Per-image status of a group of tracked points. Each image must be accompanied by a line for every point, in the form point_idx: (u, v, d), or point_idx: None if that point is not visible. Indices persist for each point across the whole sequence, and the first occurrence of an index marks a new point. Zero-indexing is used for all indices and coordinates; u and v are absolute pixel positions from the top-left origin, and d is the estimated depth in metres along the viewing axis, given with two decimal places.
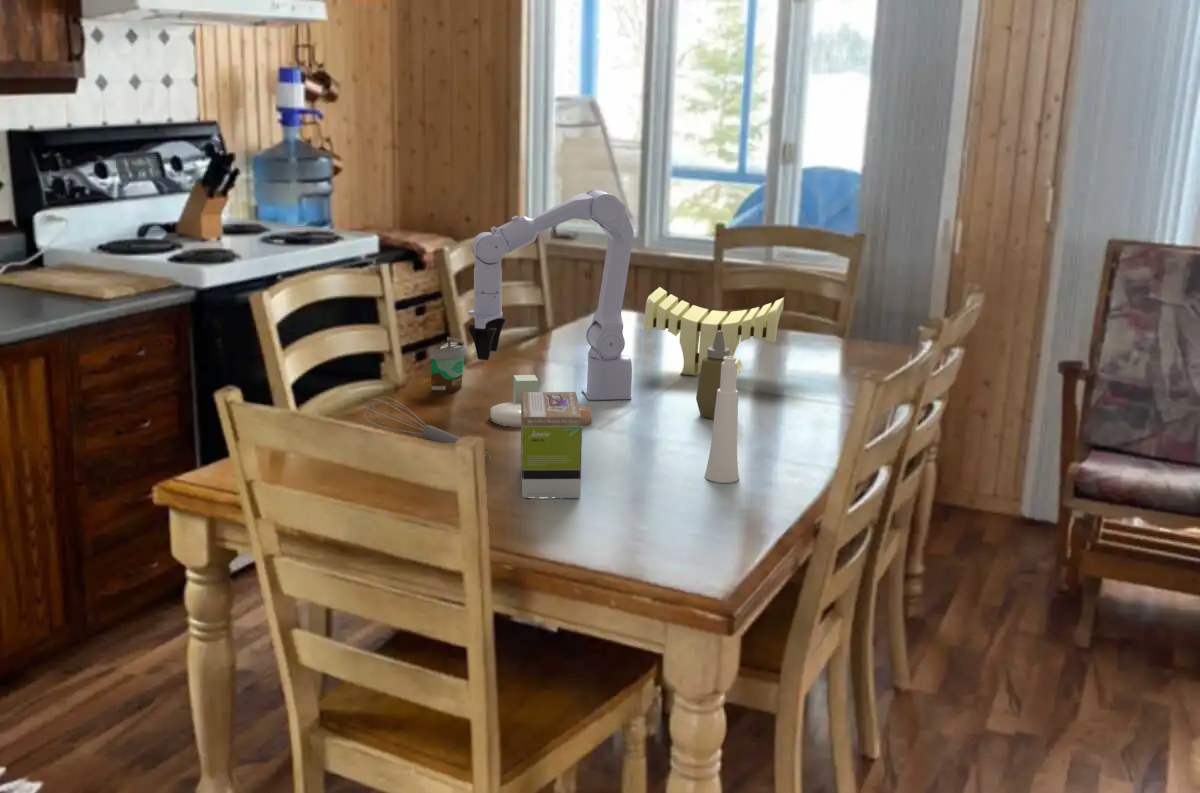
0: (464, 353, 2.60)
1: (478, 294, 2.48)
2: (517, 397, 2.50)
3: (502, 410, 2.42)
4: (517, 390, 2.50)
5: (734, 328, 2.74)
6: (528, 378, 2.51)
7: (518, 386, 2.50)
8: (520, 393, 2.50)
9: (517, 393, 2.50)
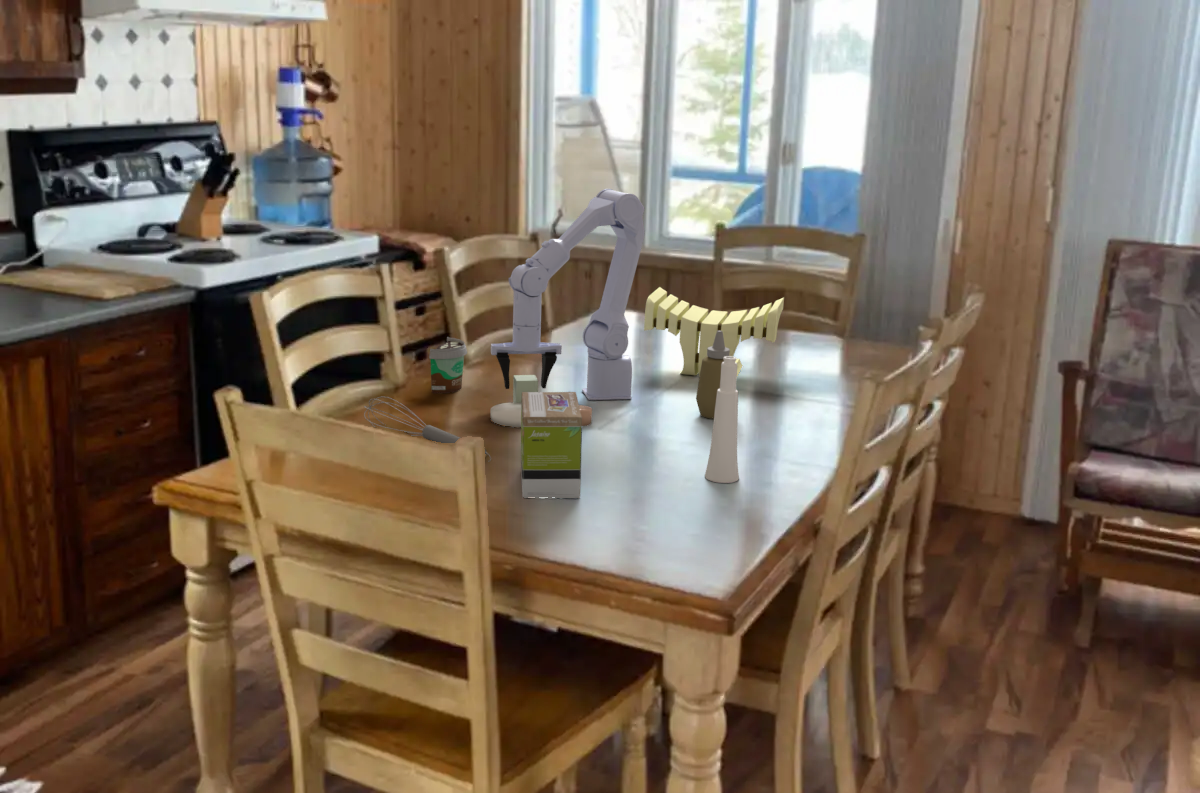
0: (464, 353, 2.60)
1: None
2: (517, 397, 2.50)
3: (502, 410, 2.42)
4: (517, 390, 2.50)
5: (734, 328, 2.74)
6: (528, 378, 2.51)
7: (518, 386, 2.50)
8: (520, 393, 2.50)
9: (517, 393, 2.50)
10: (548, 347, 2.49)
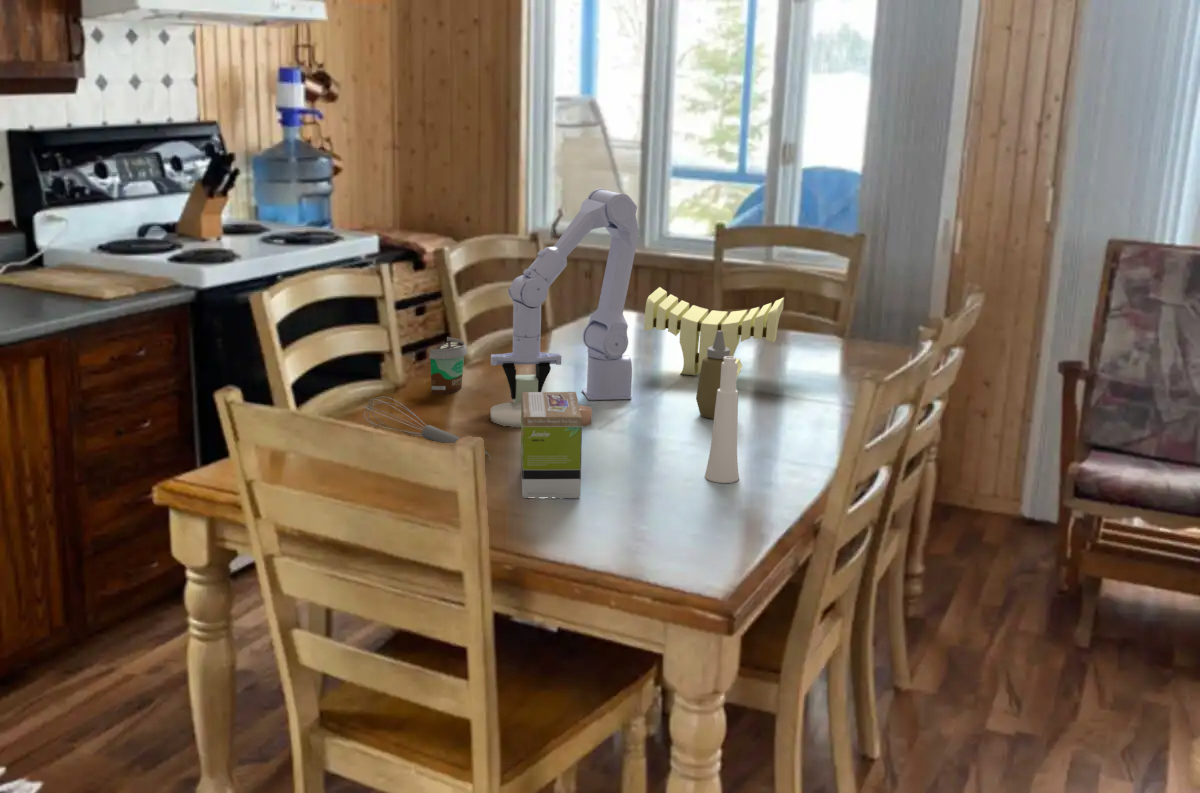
0: (464, 353, 2.60)
1: None
2: (517, 397, 2.50)
3: (502, 410, 2.42)
4: (517, 390, 2.50)
5: (734, 328, 2.74)
6: (528, 378, 2.51)
7: (518, 386, 2.50)
8: (520, 393, 2.50)
9: (517, 393, 2.50)
10: (548, 357, 2.50)
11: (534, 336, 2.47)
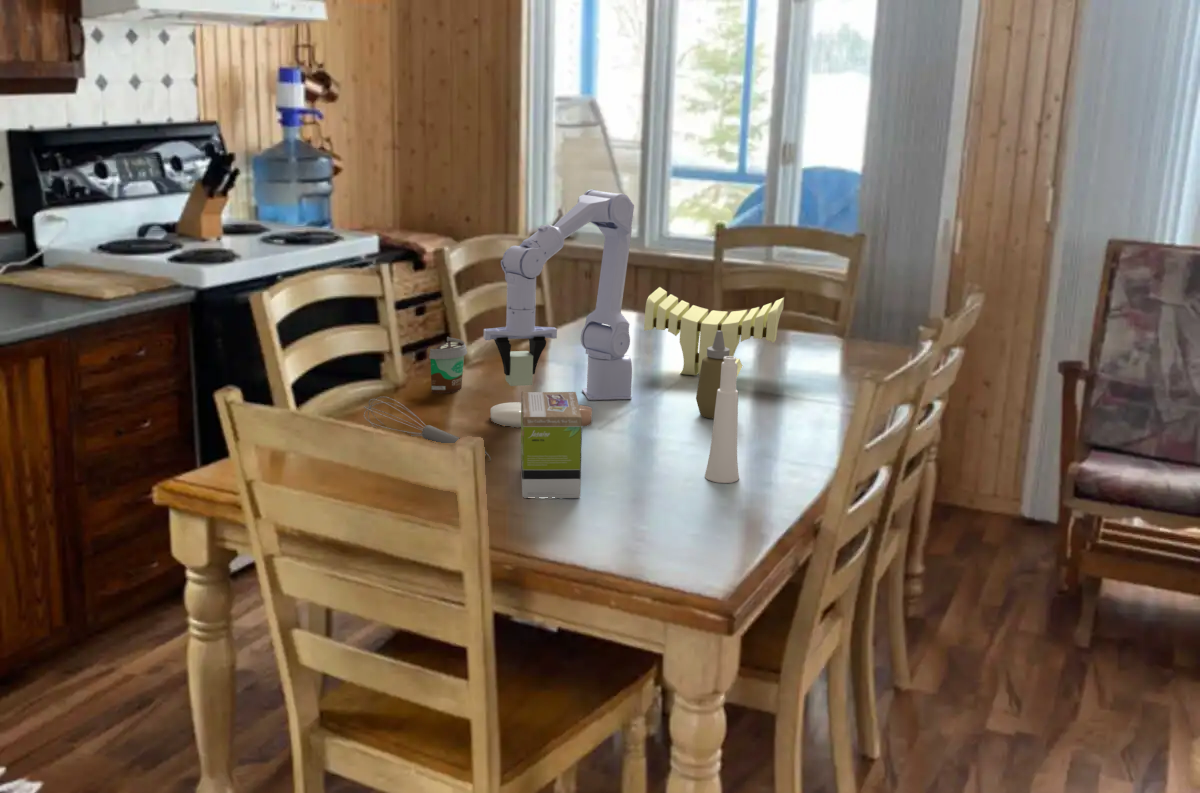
0: (464, 353, 2.60)
1: None
2: (511, 374, 2.40)
3: (502, 410, 2.42)
4: (511, 366, 2.40)
5: (734, 328, 2.74)
6: (522, 354, 2.42)
7: (512, 362, 2.40)
8: (514, 369, 2.40)
9: (511, 369, 2.40)
10: (543, 331, 2.40)
11: (530, 309, 2.37)
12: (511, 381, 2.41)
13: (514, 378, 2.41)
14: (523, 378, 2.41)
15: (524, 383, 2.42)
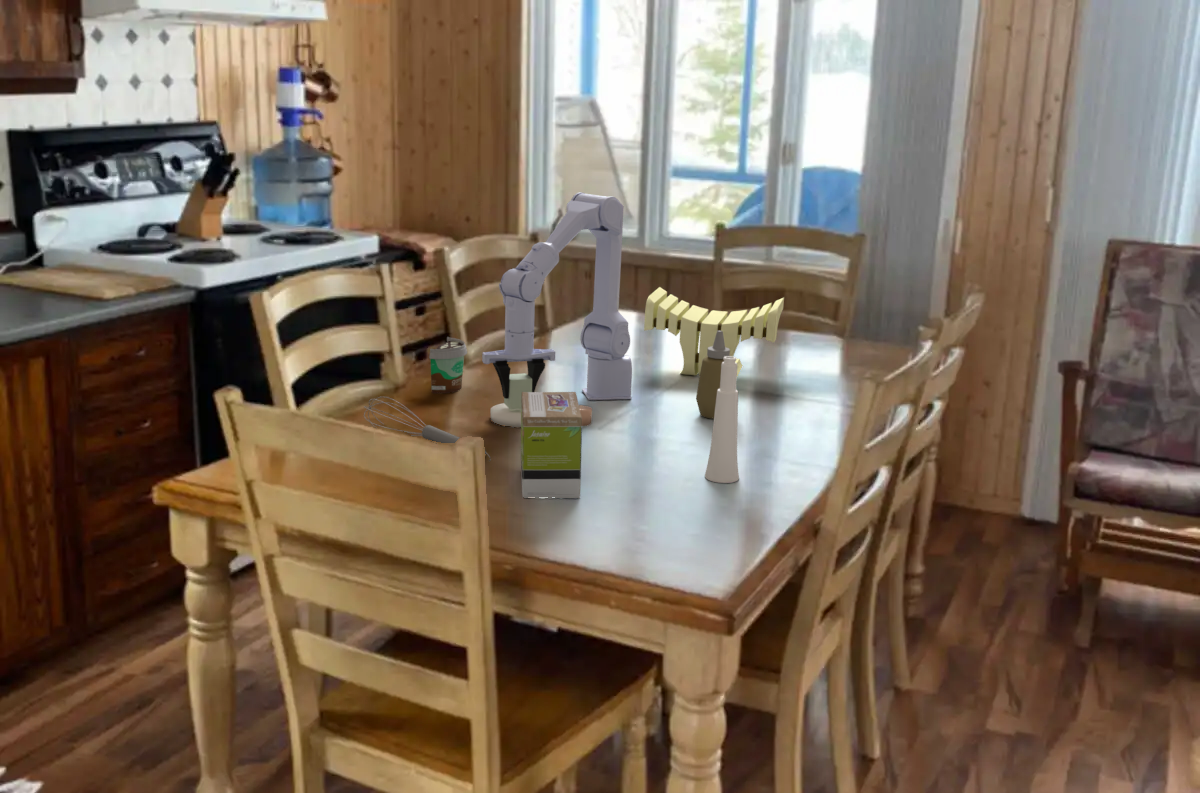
0: (464, 353, 2.60)
1: None
2: (511, 397, 2.40)
3: (502, 410, 2.42)
4: (511, 390, 2.39)
5: (734, 328, 2.74)
6: (521, 377, 2.41)
7: (512, 385, 2.39)
8: (514, 393, 2.40)
9: (511, 393, 2.39)
10: (542, 354, 2.40)
11: (529, 332, 2.36)
12: (510, 404, 2.40)
13: (513, 401, 2.40)
14: None
15: None
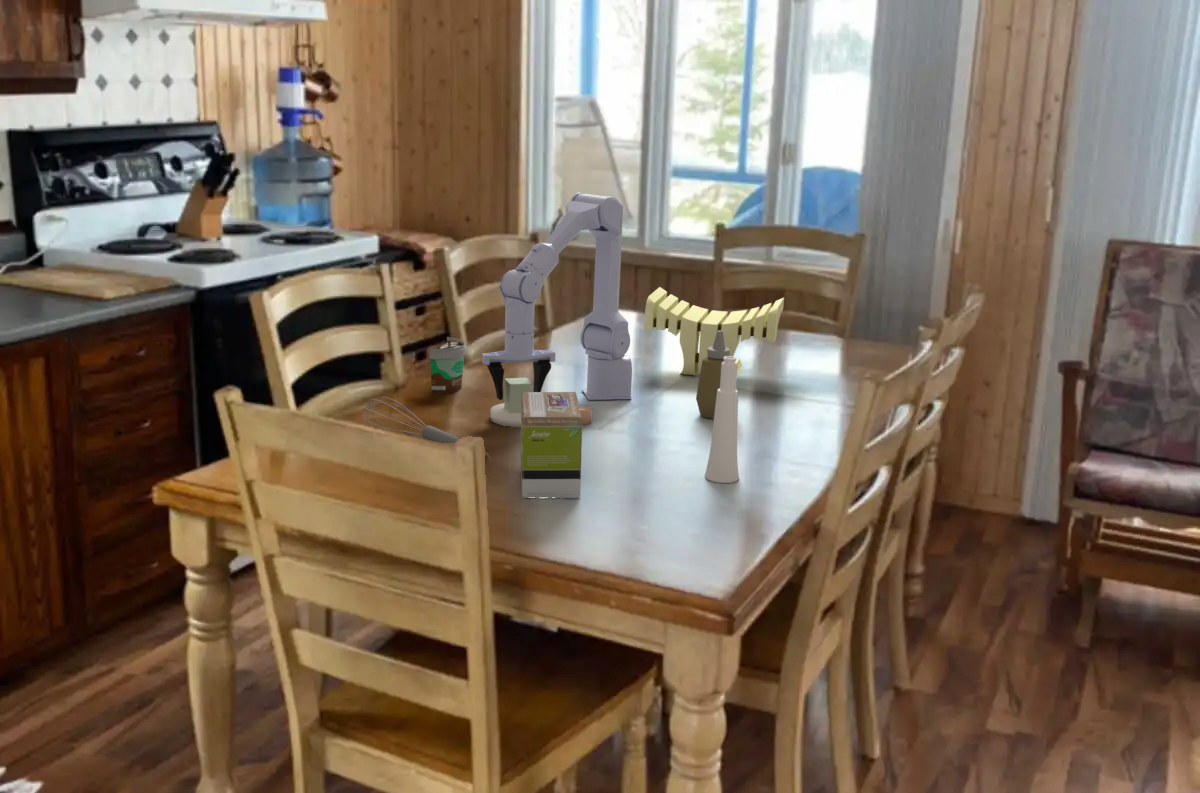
0: (464, 353, 2.60)
1: None
2: (511, 401, 2.40)
3: (502, 410, 2.42)
4: (511, 394, 2.39)
5: (734, 328, 2.74)
6: (521, 381, 2.41)
7: (512, 390, 2.39)
8: (514, 397, 2.40)
9: (511, 397, 2.40)
10: (542, 355, 2.40)
11: (529, 333, 2.37)
12: (510, 408, 2.40)
13: (513, 405, 2.40)
14: None
15: None
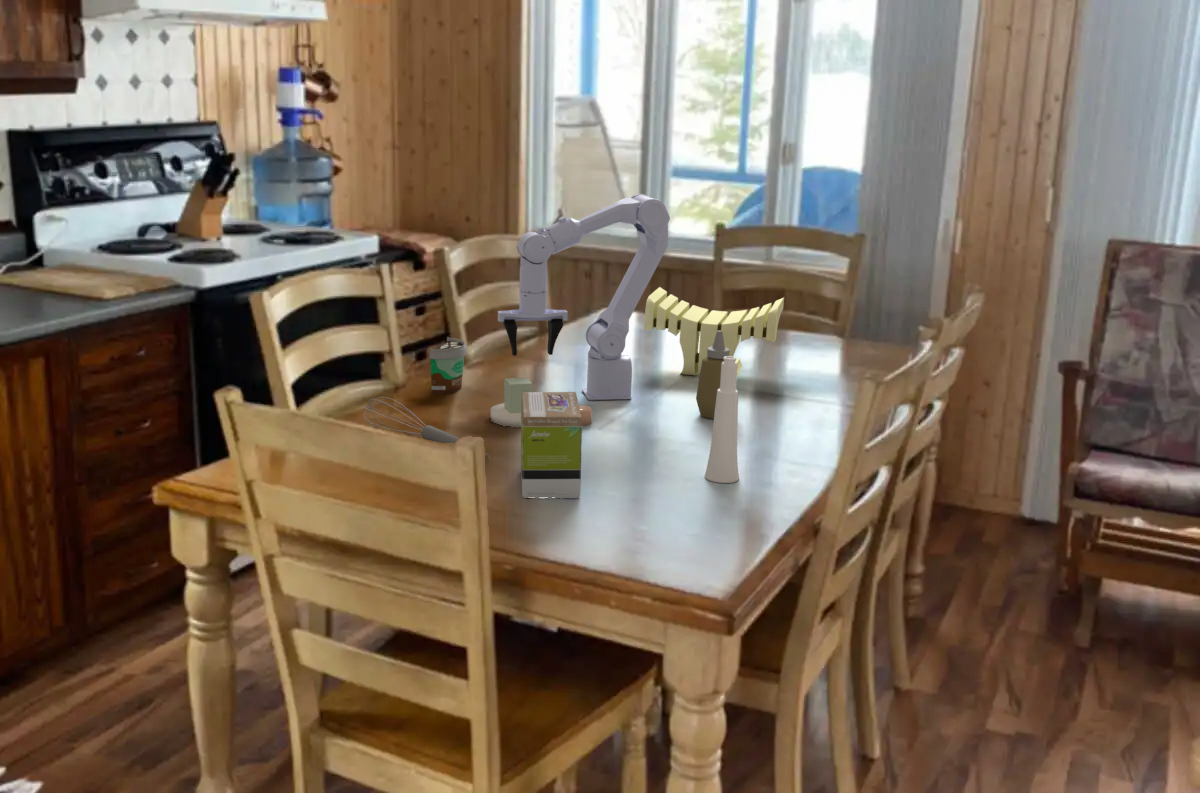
0: (464, 353, 2.60)
1: None
2: (511, 401, 2.40)
3: (502, 410, 2.42)
4: (511, 394, 2.39)
5: (734, 328, 2.74)
6: (521, 381, 2.41)
7: (512, 390, 2.39)
8: (514, 397, 2.40)
9: (511, 397, 2.40)
10: (554, 313, 2.53)
11: (541, 292, 2.50)
12: (510, 408, 2.40)
13: (513, 405, 2.40)
14: None
15: None
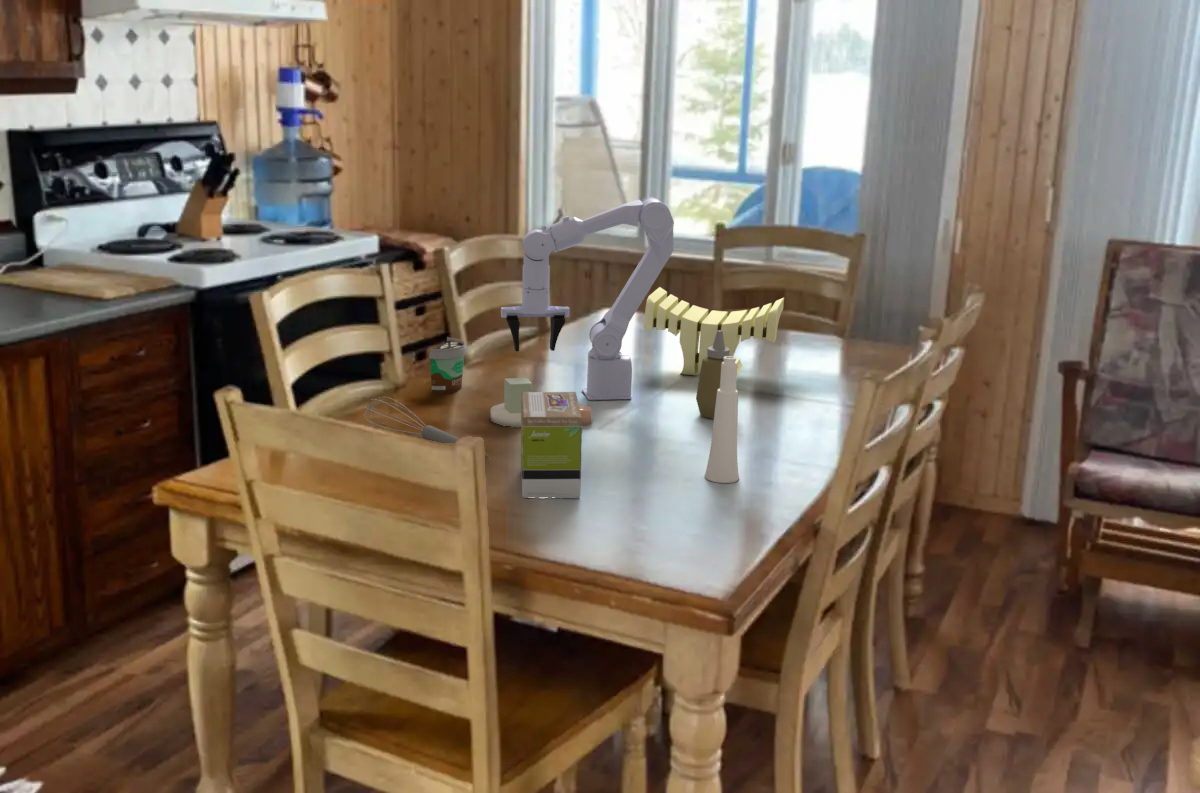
0: (464, 353, 2.60)
1: None
2: (511, 401, 2.40)
3: (502, 410, 2.42)
4: (511, 394, 2.39)
5: (734, 328, 2.74)
6: (521, 381, 2.41)
7: (512, 390, 2.39)
8: (514, 397, 2.40)
9: (511, 397, 2.40)
10: (557, 310, 2.56)
11: (543, 288, 2.53)
12: (510, 408, 2.40)
13: (513, 405, 2.40)
14: None
15: None
